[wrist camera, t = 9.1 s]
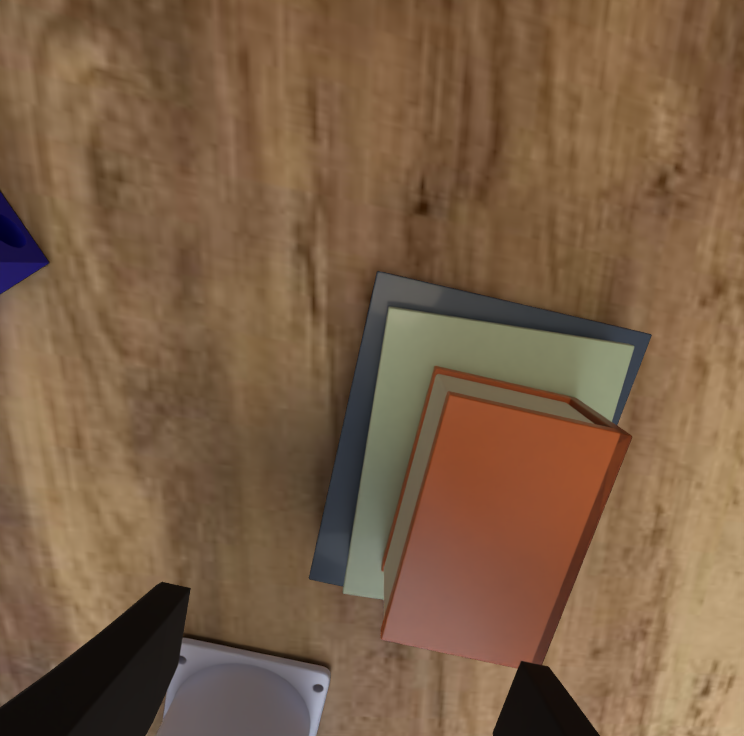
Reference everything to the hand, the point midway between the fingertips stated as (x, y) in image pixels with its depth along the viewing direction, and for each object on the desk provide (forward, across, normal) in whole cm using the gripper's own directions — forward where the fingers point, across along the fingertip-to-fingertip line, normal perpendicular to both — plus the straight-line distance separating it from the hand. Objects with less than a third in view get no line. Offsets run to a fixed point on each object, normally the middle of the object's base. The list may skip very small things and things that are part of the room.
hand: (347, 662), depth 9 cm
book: (+7, -4, -1) cm, 8 cm away
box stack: (+10, -4, -1) cm, 11 cm away
